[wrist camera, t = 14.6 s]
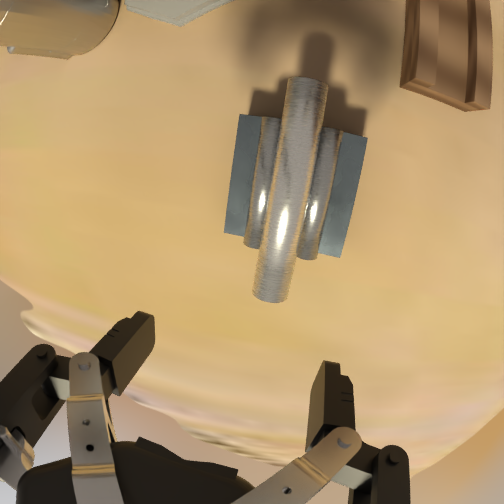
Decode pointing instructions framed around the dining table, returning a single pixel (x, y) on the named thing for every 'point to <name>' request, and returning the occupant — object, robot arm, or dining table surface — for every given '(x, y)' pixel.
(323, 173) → the V-block
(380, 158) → the dining table surface
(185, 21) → the grey faceted sculpture
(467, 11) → the grooved beam
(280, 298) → the axle
